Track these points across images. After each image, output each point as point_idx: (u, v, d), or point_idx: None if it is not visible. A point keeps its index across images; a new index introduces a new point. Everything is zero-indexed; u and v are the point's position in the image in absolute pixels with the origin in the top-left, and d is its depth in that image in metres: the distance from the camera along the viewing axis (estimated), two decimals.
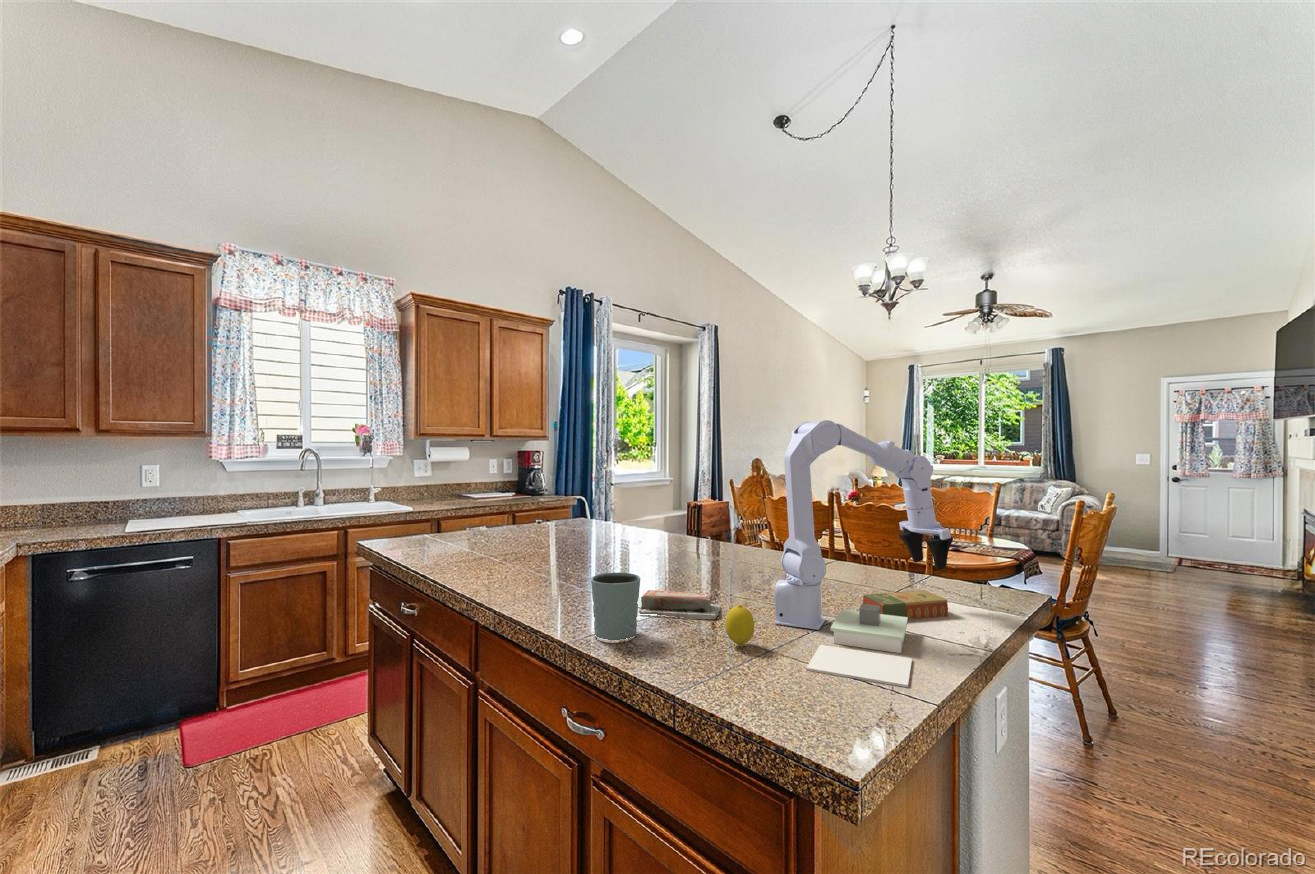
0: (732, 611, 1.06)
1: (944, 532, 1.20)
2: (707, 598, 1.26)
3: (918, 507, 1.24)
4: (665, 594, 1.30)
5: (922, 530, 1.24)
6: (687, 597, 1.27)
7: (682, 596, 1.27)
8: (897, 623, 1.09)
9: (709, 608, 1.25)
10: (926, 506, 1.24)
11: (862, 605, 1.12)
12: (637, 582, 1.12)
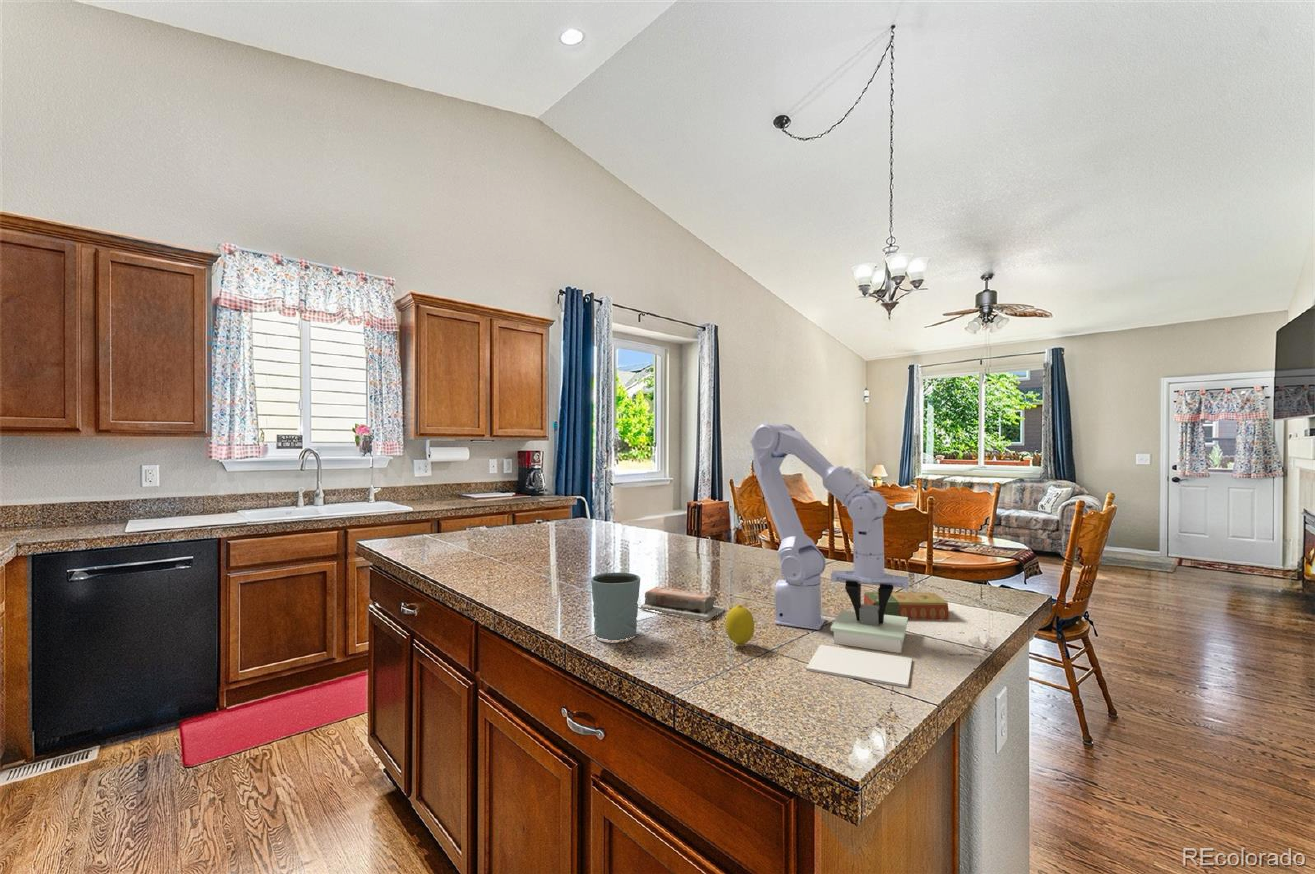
0: (732, 611, 1.06)
1: None
2: (703, 599, 1.25)
3: (854, 550, 1.10)
4: (668, 591, 1.32)
5: None
6: (685, 596, 1.27)
7: (681, 595, 1.28)
8: (897, 623, 1.09)
9: (704, 609, 1.24)
10: (860, 552, 1.09)
11: (862, 605, 1.12)
12: (637, 582, 1.12)
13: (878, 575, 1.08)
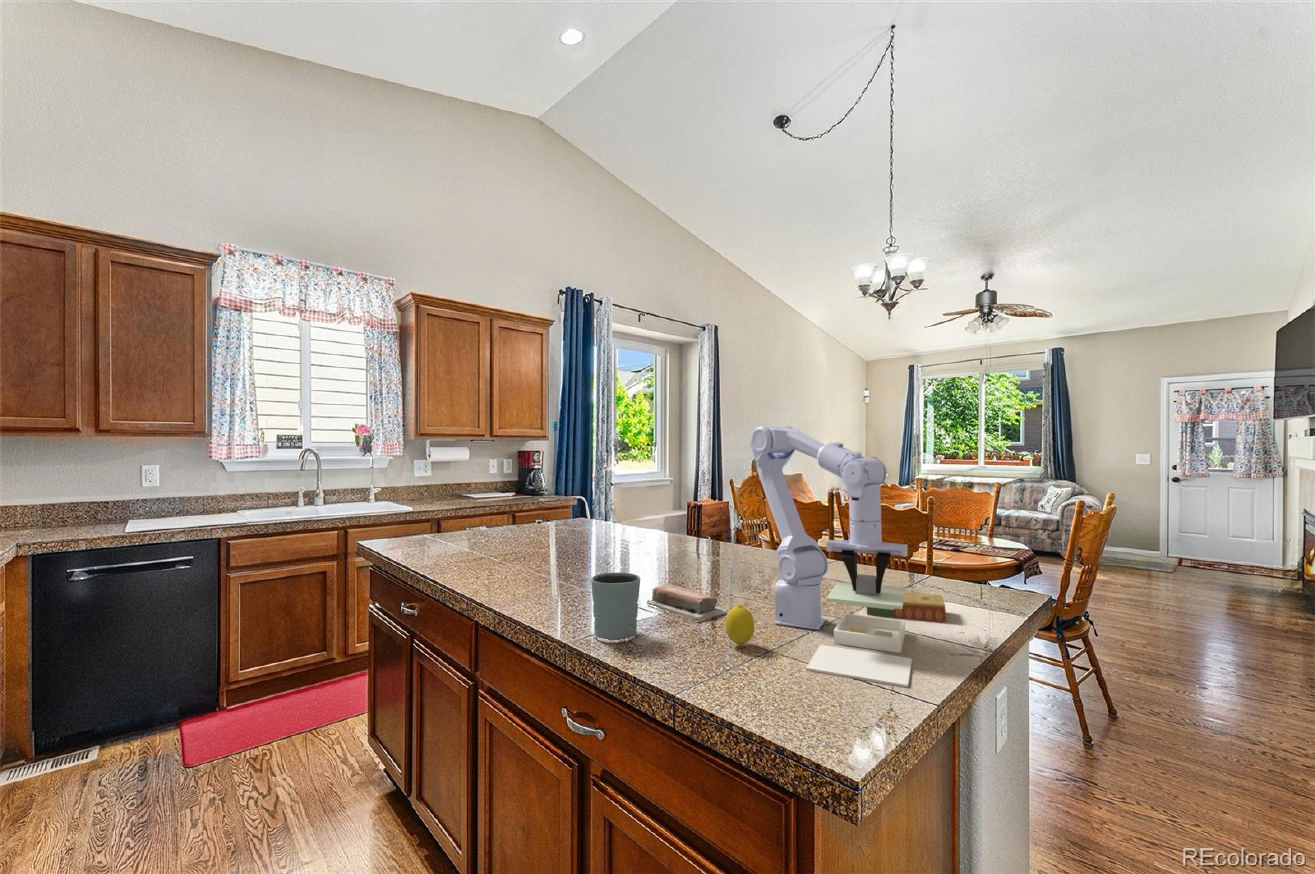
0: (732, 611, 1.06)
1: None
2: (698, 599, 1.25)
3: None
4: (674, 589, 1.33)
5: None
6: (684, 595, 1.28)
7: (681, 594, 1.29)
8: (895, 593, 1.05)
9: (699, 610, 1.24)
10: (853, 518, 1.05)
11: (859, 575, 1.08)
12: (637, 582, 1.12)
13: (875, 542, 1.04)
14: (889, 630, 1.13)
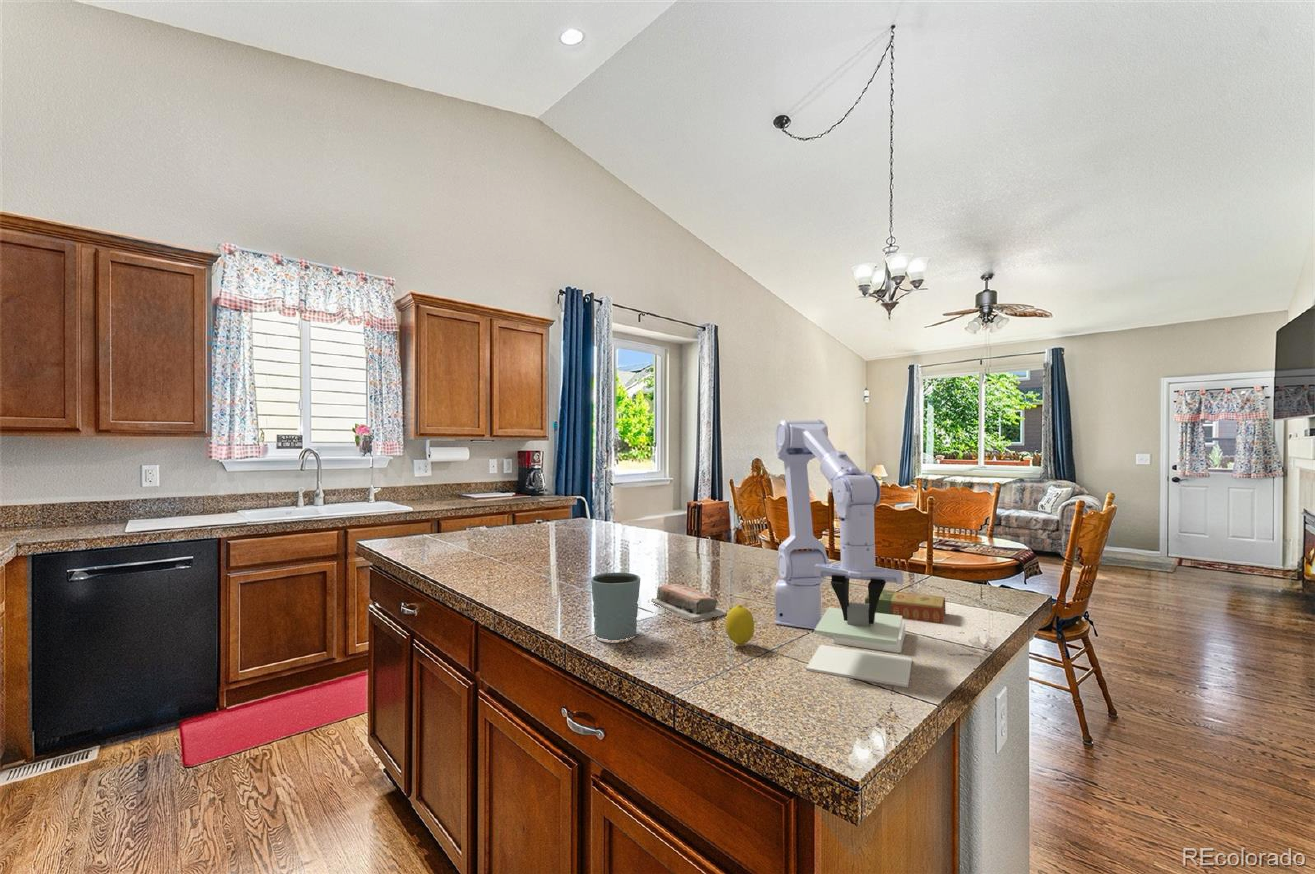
0: (732, 611, 1.06)
1: None
2: (696, 600, 1.25)
3: None
4: (677, 589, 1.34)
5: None
6: (684, 595, 1.28)
7: (682, 593, 1.30)
8: (891, 623, 0.96)
9: (696, 610, 1.24)
10: (841, 540, 0.97)
11: (850, 603, 0.98)
12: (637, 582, 1.12)
13: (868, 568, 0.94)
14: None
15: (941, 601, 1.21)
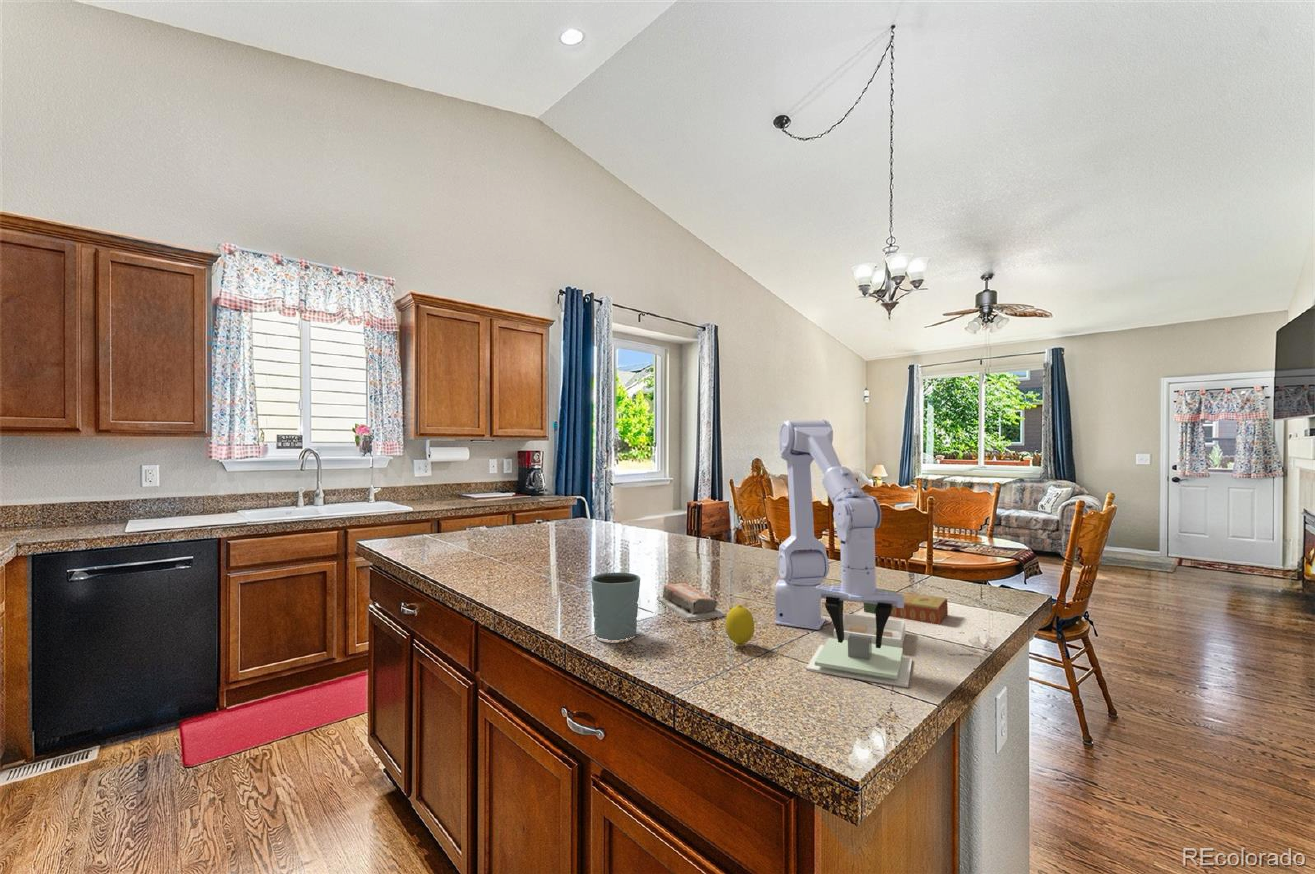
0: (732, 611, 1.06)
1: None
2: (693, 600, 1.25)
3: None
4: (680, 588, 1.35)
5: None
6: (684, 595, 1.29)
7: (683, 593, 1.30)
8: (891, 656, 0.96)
9: (693, 610, 1.24)
10: (841, 563, 0.97)
11: (851, 635, 0.99)
12: (637, 582, 1.12)
13: (868, 591, 0.94)
14: (889, 630, 1.13)
15: (940, 602, 1.20)
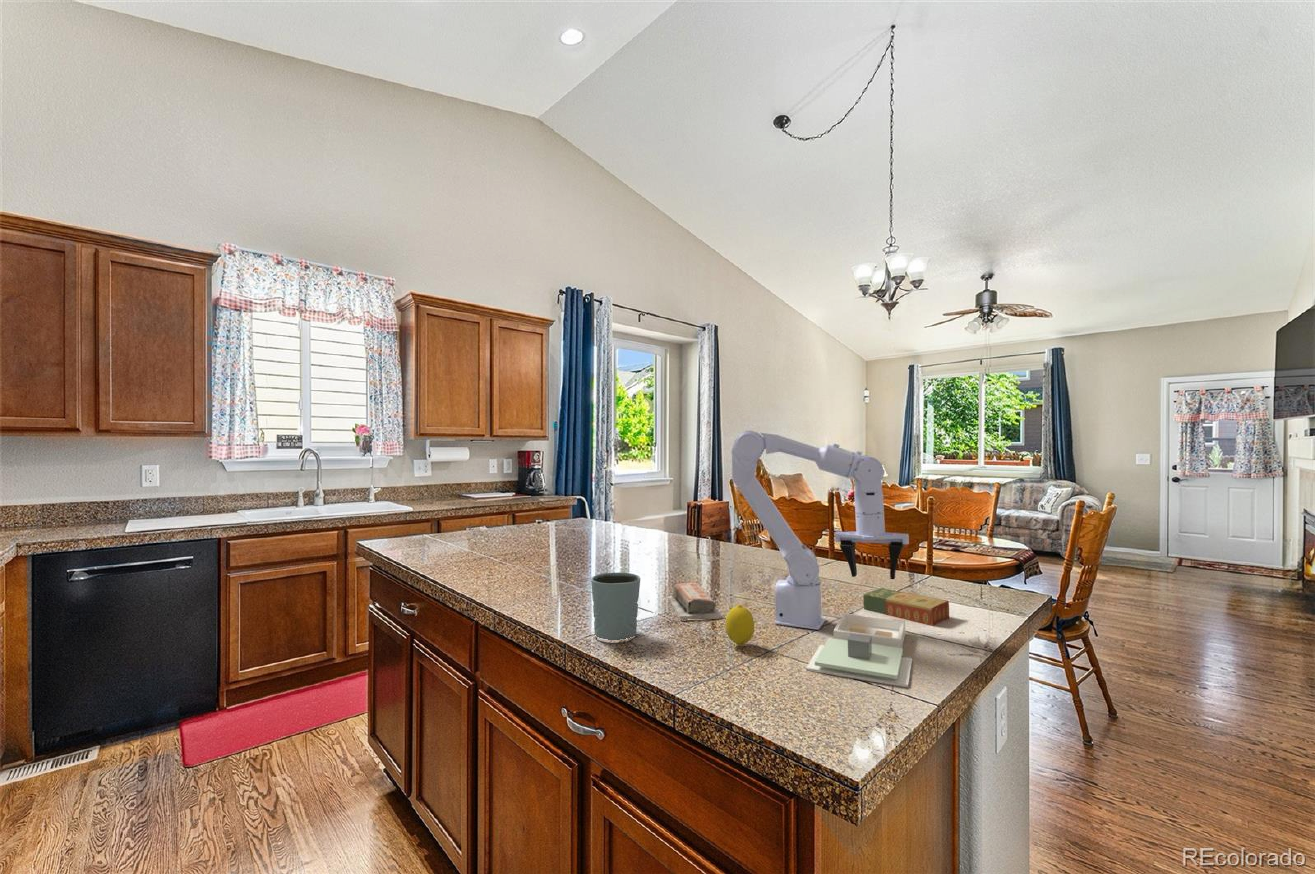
0: (732, 611, 1.06)
1: None
2: (689, 599, 1.25)
3: (861, 511, 1.16)
4: (687, 587, 1.35)
5: None
6: (684, 594, 1.29)
7: (685, 592, 1.31)
8: (891, 656, 0.96)
9: (688, 610, 1.24)
10: (869, 512, 1.15)
11: (851, 635, 0.99)
12: (637, 582, 1.12)
13: (879, 532, 1.15)
14: (889, 630, 1.13)
15: (937, 604, 1.19)
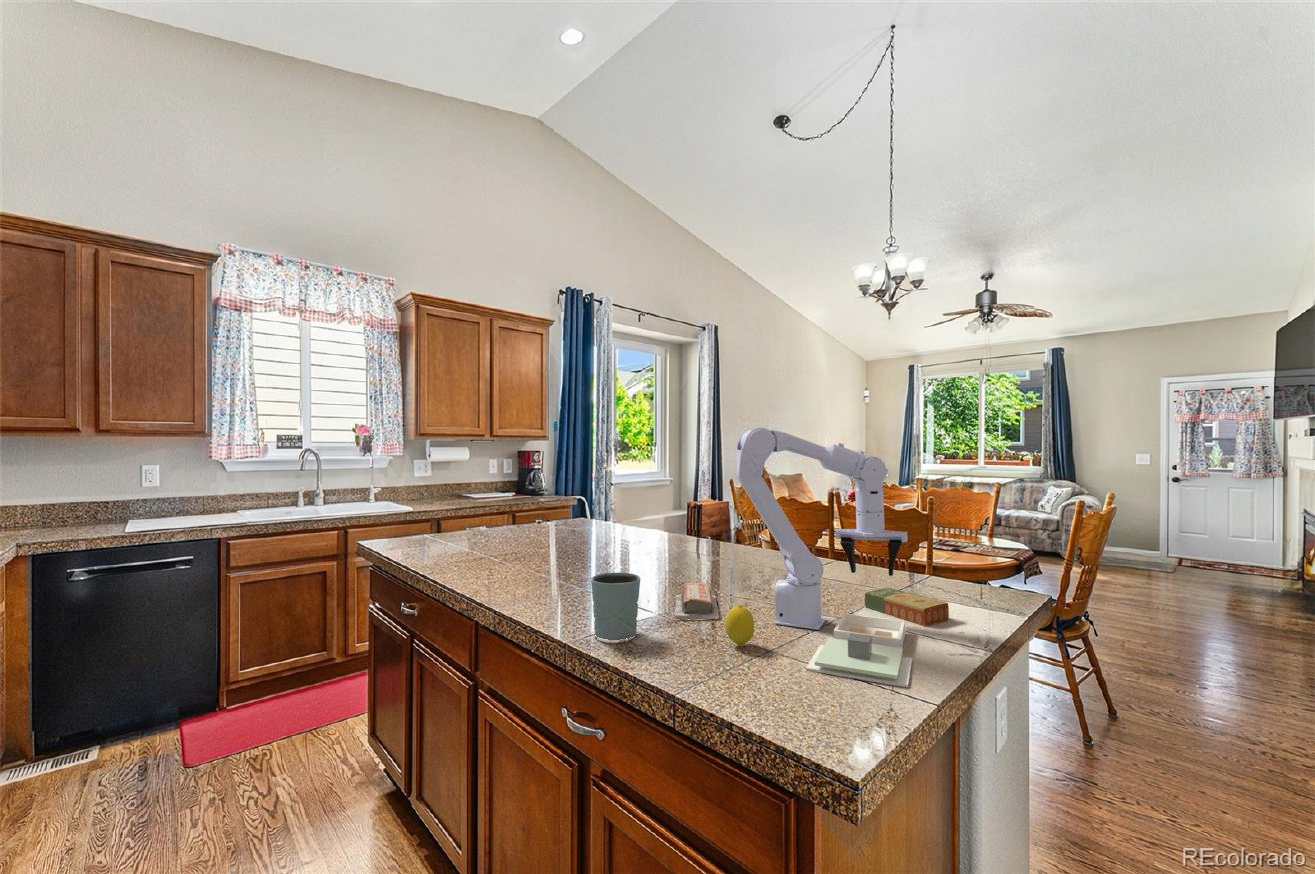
0: (732, 611, 1.06)
1: None
2: (686, 599, 1.25)
3: (864, 510, 1.19)
4: (693, 587, 1.35)
5: None
6: (685, 593, 1.30)
7: (687, 592, 1.31)
8: (891, 656, 0.96)
9: (684, 609, 1.25)
10: (873, 510, 1.18)
11: (851, 635, 0.99)
12: (637, 582, 1.12)
13: (878, 530, 1.18)
14: (889, 630, 1.13)
15: (932, 605, 1.19)
